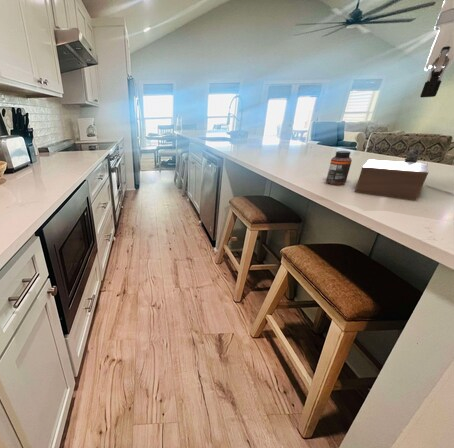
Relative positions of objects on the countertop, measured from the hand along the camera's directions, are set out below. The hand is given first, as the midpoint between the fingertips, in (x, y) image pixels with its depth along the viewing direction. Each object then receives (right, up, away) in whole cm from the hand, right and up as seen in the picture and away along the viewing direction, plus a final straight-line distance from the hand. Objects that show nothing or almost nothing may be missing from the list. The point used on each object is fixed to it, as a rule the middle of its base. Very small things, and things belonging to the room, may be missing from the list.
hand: (427, 96), depth 71 cm
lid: (-6, -20, +3) cm, 21 cm away
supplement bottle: (-15, -23, +17) cm, 32 cm away
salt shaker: (+10, -22, +17) cm, 30 cm away
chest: (-6, -27, +7) cm, 28 cm away
